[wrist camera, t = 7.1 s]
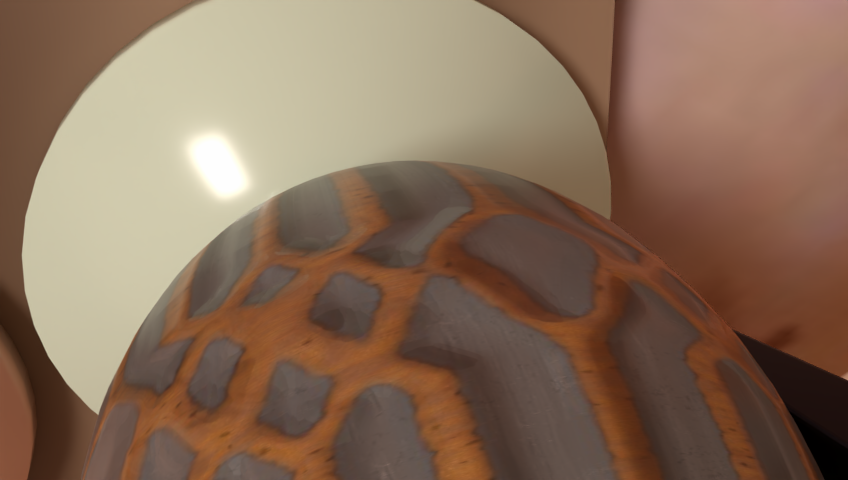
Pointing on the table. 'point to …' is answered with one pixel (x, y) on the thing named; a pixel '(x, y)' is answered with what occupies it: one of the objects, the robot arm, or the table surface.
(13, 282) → the board
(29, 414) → the terracotta disc
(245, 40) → the cream disc
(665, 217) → the table surface
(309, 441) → the vase
